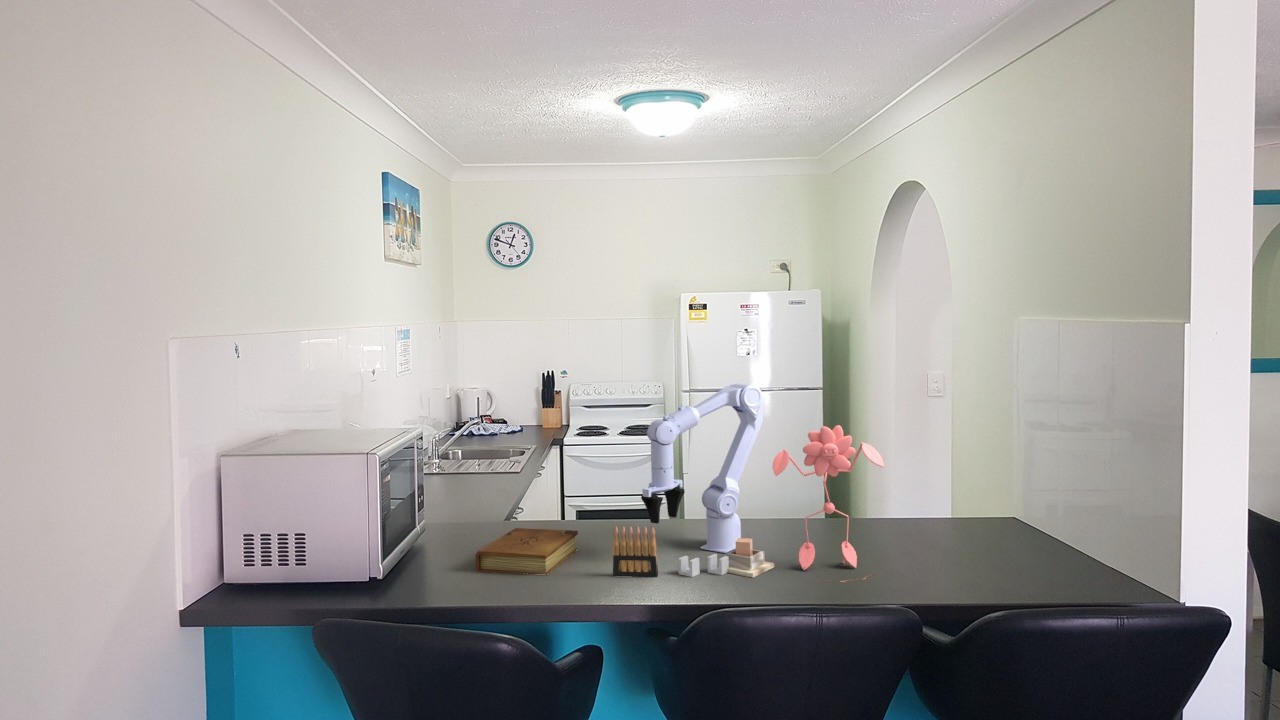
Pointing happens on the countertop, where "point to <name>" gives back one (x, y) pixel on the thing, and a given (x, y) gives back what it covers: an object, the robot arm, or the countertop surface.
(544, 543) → the diary
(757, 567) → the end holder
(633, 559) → the ammunition clip
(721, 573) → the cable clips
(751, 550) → the orange rectangular block
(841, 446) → the figurine
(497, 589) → the countertop surface
